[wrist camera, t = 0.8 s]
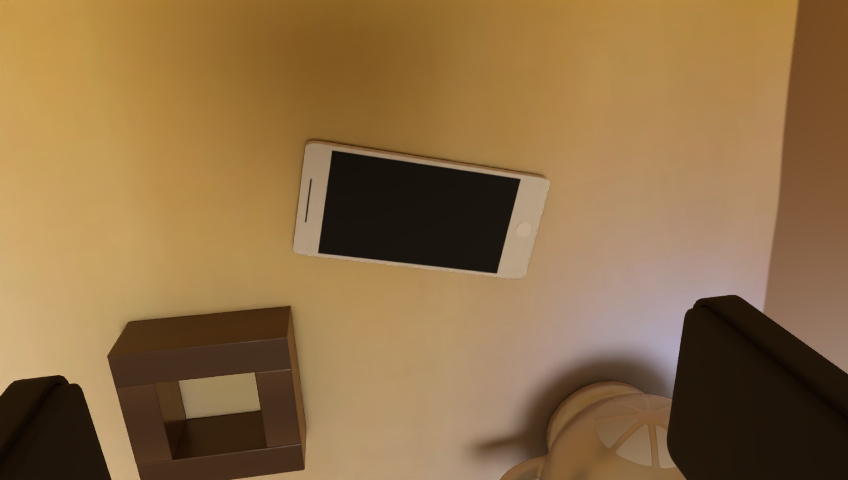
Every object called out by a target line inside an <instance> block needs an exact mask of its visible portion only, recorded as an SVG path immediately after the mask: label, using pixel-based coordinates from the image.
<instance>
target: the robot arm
mask: <svg viewBox="0 0 848 480" xmlns="http://www.w3.org/2000/svg"><path fill="white" fill-rule="evenodd" d="M667 448H668V452H669V455H670V457H671V459H672V461H673V462H674V464H675V465H676V466H677V468H678V469H679V470H680V472H681V473H682V474H683V476H684V477H685V478H686V480H848V374H847V373H845V372H844V371H842V370H841V369H840V368H838V367H837V366H836V365H834V364H833V363H831V362H830V361H829V360H827V359H826V358H824V357H823V356H822V355H820V354H819V353H818V352H816V351H815V350H813V349H812V348H810V347H809V346H808V345H806V344H805V343H804V342H802V341H801V340H799V339H798V338H797V337H795V336H794V335H792V334H791V333H790V332H788V331H787V330H785V329H784V328H783V327H781V326H780V325H778V324H777V323H776V322H774V321H773V320H771V319H770V318H768V317H767V316H766V315H765V314H763V313H762V312H760V311H759V310H758V309H756V308H755V307H753V306H752V305H751V304H749V303H748V302H746V301H745V300H744V299H742V298H741V297H739V296H737V295H726V296H718V297H710V298H701V299H699V300H697V301H696V303H695V304H694V306H693V308H692V309H689V310H688V311H687V312H686V314H685V318H684V324H683V330H682V337H681V344H680V351H679V357H678V364H677V371H676V378H675V384H674V391H673V398H672V404H671V411H670V418H669V425H668V431H667ZM0 480H111V477H110V474H109V471H108V468H107V465H106V462H105V458H104V455H103V452H102V449H101V446H100V443H99V440H98V437H97V434H96V431H95V428H94V425H93V421H92V418H91V415H90V412H89V409H88V406H87V403H86V400H85V397H84V394H83V391H82V389H81V387H80V386H79V385H78V384H75V383H74V384H69V383H68V381H67V380H66V378H65V377H63V376H61V375H56V376H47V377H39V378H31V379H22V380H17V381H14V382H13V383H11V384H10V385H9V386H8V387H7V389H6V390H5V391H4V392H3V394H2V395H1V396H0Z"/></svg>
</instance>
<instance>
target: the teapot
mask: <svg viewBox="0 0 848 480" xmlns="http://www.w3.org/2000/svg"><path fill="white" fill-rule="evenodd" d="M671 404H672V399H669V398H665V397H661V396H657V395H651V394H644V393H643V392H642V391H640V390H639V389H637V388H636V387H634V386H632V385H629V384H626V383H622V382H616V381H605V382H598V383H594V384H590V385H588V386H585V387H583V388H581V389H579V390H577V391H575V392H574V393H572V394H571V395H570V396H568V397H567V398H566V399H565V400H564V401H563V402H562V403H561V404H560V405H559V406H558V408H557V409H556V410H555V412H554V414H553V415H552V417H551V419H550V422H549V425H548V429H547V447H548V451H549V452H548V454H546V455H543V456H539V457H536V458H533V459H530V460H527V461H524V462H522V463H520V464H518V465H516V466H514V467H513V468H511V469H510V470H509V471H507V472H506V473H505V474H504V475H503V477H502V478H501V479H500V480H537V479H541V480H686V478H685V477H684V476H683V474H682V473H681V472H680V470H679V469H678V468H677V466H676V465H675V464H674V462H673V461H672V459H671V457H670V455H669V452H668V448H667V431H668V425H669V418H670V411H671Z"/></svg>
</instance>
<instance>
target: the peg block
mask: <svg viewBox="0 0 848 480" xmlns="http://www.w3.org/2000/svg"><path fill="white" fill-rule="evenodd" d="M107 357H108V361H109V365H110V369H111V372H112V376H113V380H114V384H115V387H116V391H117V395H118V398H119V402H120V406H121V410H122V413H123V417H124V421H125V424H126V428H127V432H128V436H129V439H130V443H131V447H132V451H133V454H134V458H135V462H136V464H137V468H138V472H139V476H140V479H141V480H232V479H239V478H247V477H254V476H262V475H269V474H277V473H284V472H292V471H299V470H304V469H305V451H306V423H305V415H304V407H303V400H302V392H301V384H300V376H299V368H298V360H297V352H296V344H295V337H294V328H293V320H292V312H291V307H279V308H269V309H259V310H248V311H238V312H228V313H217V314H207V315H197V316H186V317H176V318H166V319H155V320H145V321H135V322H128V323H127V325H126V327H125V328H124V330H123V331H122V333H121V335H120V336H119V338H118V339H117V341H116V343H115V344H114V346H113V347H112V349H111V351H110V352H109V354H108V356H107ZM251 372H255V377H256V383H257V389H258V395H259V402H260V408H261V411H258V412H249V413H241V414H233V415H224V416H216V417H208V418H199V419H191V420H186V417H185V412H184V408H183V403H182V399H181V394H180V389H179V385H178V381H179V380H188V379H197V378H206V377H215V376H224V375H233V374H242V373H251Z"/></svg>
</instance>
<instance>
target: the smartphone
mask: <svg viewBox="0 0 848 480" xmlns="http://www.w3.org/2000/svg"><path fill="white" fill-rule="evenodd" d="M549 186H550V182H549V181H548V180H547V179H546V178H544V177H543V176H540V175H536V174H530V173H523V172H517V171H510V170H504V169H497V168H491V167H484V166H478V165H471V164H465V163H458V162H452V161H446V160H439V159H433V158H426V157H420V156H413V155H407V154H400V153H394V152H387V151H381V150H374V149H368V148H361V147H355V146H349V145H342V144H336V143H329V142H323V141H309V142H307V143H306V147H305V155H304V163H303V171H302V179H301V187H300V195H299V204H298V212H297V220H296V228H295V236H294V244H293V251H294V252H295V253H297V254H300V255H306V256H315V257H324V258H333V259H342V260H351V261H359V262H368V263H377V264H386V265H395V266H404V267H413V268H421V269H430V270H439V271H448V272H457V273H466V274H474V275H483V276H492V277H501V278H510V279H522V278H524V277H525V275H526V271H527V267H528V264H529V260H530V256H531V253H532V249H533V245H534V241H535V238H536V234H537V230H538V227H539V223H540V219H541V216H542V212H543V208H544V205H545V201H546V197H547V194H548V190H549Z"/></svg>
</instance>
